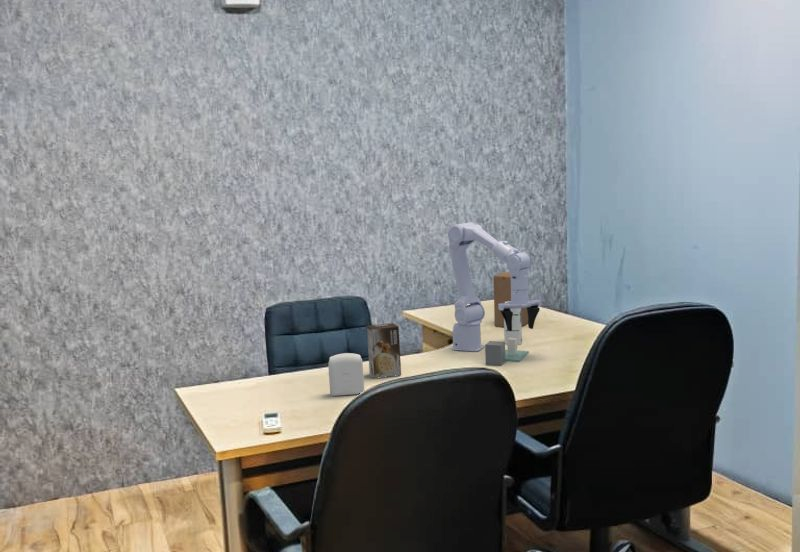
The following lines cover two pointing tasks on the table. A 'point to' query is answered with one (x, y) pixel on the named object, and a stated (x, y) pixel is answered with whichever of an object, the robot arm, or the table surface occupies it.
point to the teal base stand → (514, 351)
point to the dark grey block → (495, 353)
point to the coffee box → (384, 350)
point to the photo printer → (346, 374)
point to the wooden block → (504, 298)
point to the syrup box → (514, 326)
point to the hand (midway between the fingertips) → (520, 329)
